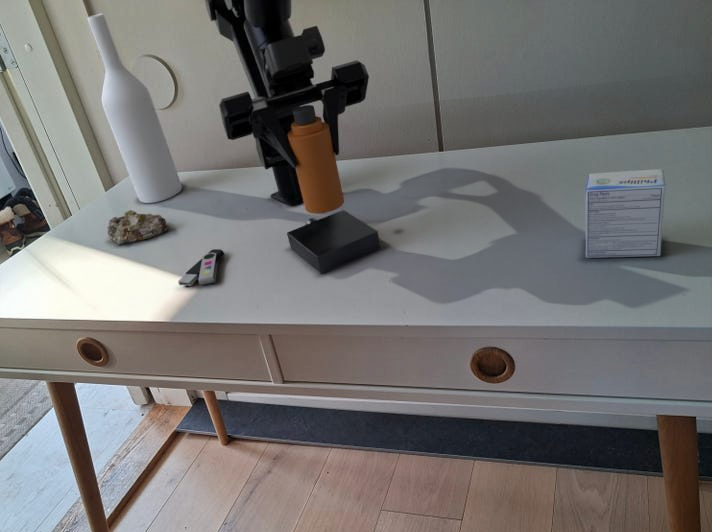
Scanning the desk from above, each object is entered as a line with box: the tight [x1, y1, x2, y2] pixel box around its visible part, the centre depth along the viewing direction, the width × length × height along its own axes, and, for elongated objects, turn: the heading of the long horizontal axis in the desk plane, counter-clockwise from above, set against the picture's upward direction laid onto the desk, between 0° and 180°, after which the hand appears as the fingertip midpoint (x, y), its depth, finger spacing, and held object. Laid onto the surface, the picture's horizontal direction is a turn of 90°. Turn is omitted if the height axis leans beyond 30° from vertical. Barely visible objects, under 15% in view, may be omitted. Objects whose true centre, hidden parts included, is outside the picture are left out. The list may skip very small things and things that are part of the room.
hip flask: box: [286, 209, 382, 275], centre depth 96 cm, size 12×9×3 cm
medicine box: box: [585, 168, 666, 259], centre depth 78 cm, size 8×4×9 cm, turn 71°
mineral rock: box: [107, 209, 169, 246], centre depth 113 cm, size 11×4×8 cm
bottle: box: [87, 13, 183, 204], centre depth 119 cm, size 8×8×30 cm
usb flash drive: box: [178, 248, 225, 287], centre depth 97 cm, size 9×5×1 cm, turn 155°
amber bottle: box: [288, 104, 345, 215], centre depth 88 cm, size 5×5×13 cm
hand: (316, 159), depth 87 cm, fingers closed on amber bottle, 5 cm apart
